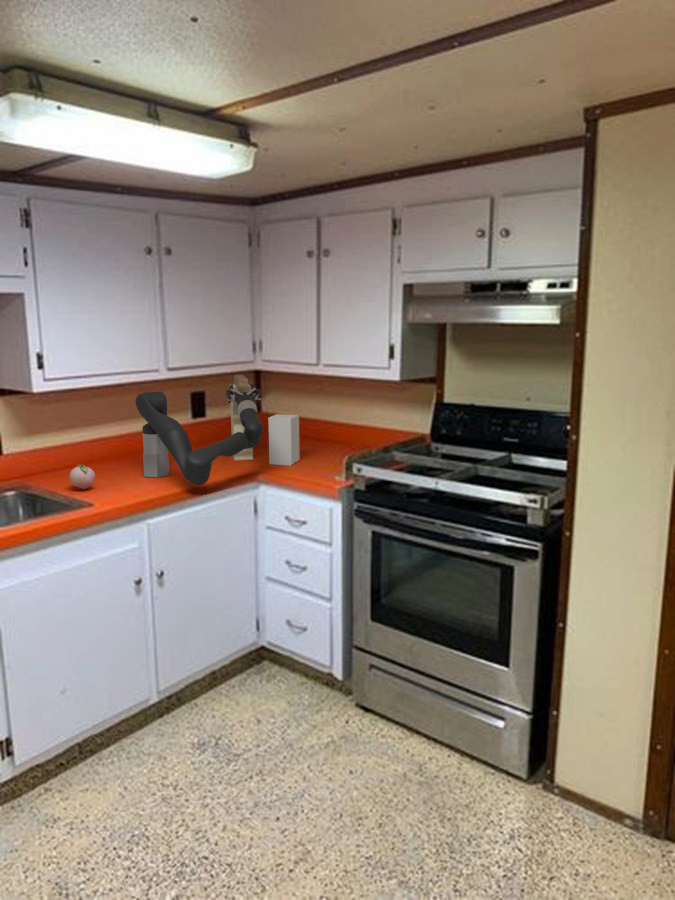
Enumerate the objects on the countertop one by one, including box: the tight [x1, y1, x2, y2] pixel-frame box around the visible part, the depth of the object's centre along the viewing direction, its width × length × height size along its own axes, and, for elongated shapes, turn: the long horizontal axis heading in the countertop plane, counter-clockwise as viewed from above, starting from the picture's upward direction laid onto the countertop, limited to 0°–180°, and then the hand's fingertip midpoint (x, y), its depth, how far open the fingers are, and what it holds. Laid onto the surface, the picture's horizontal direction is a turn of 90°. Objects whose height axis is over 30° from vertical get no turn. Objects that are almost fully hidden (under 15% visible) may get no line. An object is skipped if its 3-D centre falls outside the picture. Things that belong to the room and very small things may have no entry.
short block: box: [267, 413, 300, 466], centre depth 294 cm, size 10×10×20 cm
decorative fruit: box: [69, 462, 96, 491], centre depth 251 cm, size 9×8×10 cm
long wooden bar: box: [233, 374, 249, 389], centre depth 296 cm, size 21×4×4 cm, turn 13°
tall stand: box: [229, 383, 254, 461], centre depth 303 cm, size 12×8×32 cm, turn 13°
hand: (241, 385), depth 290 cm, fingers open, 8 cm apart
